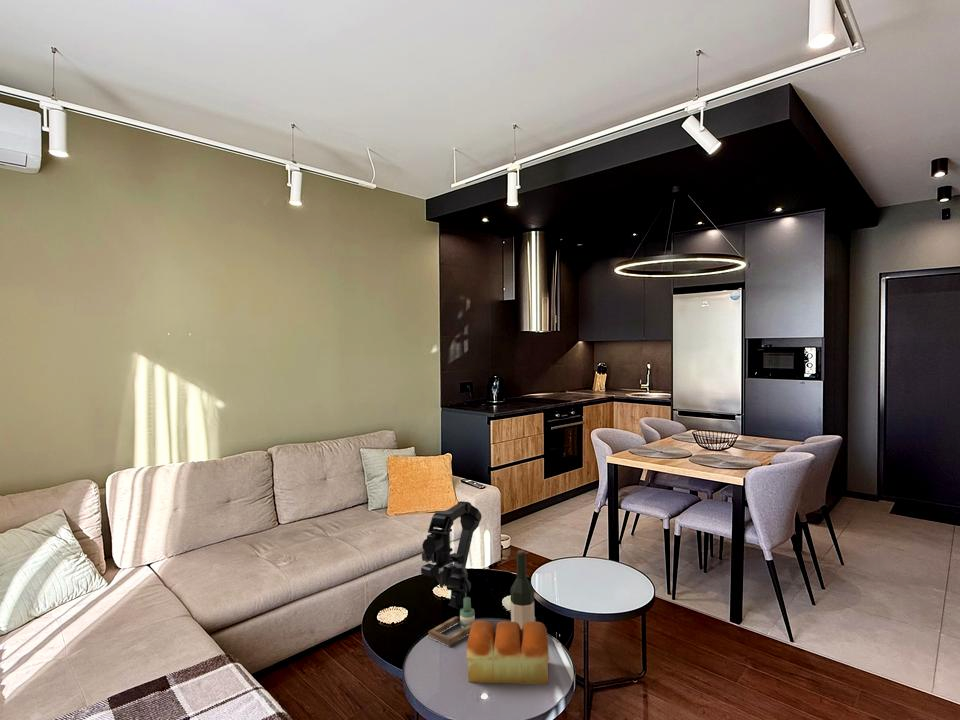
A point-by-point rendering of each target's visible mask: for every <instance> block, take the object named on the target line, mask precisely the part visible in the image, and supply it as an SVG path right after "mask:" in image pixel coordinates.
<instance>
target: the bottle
mask: <svg viewBox="0 0 960 720" xmlns="http://www.w3.org/2000/svg"><path fill="white" fill-rule="evenodd" d="M463 602H464V608H462V609H459V624H460V625H461V626H463V627H466V626H468V625H470V624H471V623H473V622H475V621H476V617H475V615H476V613H475V612H476V611H475V609H474V608H472V602H471V597H469V596H467V597H465V598H463Z"/></svg>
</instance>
